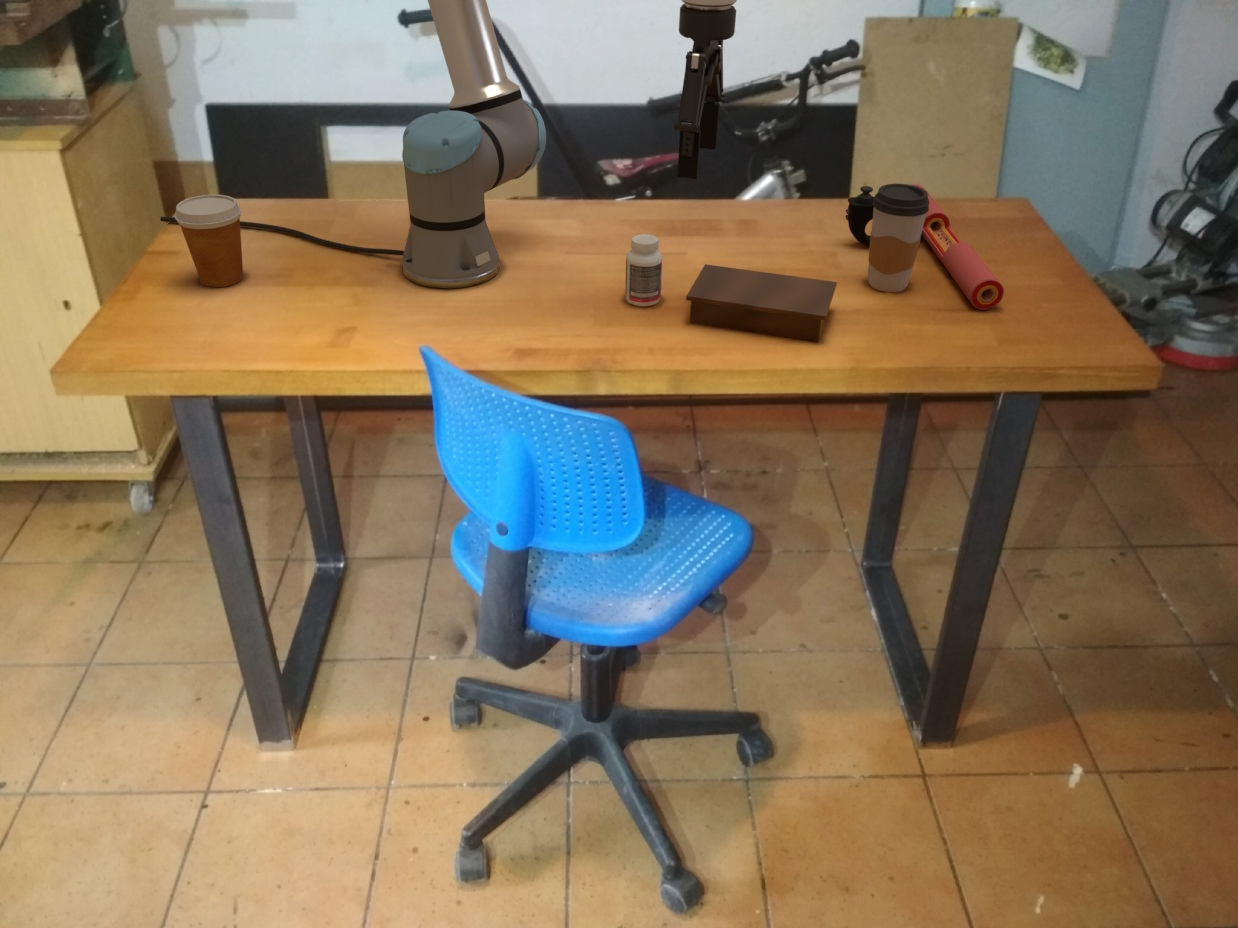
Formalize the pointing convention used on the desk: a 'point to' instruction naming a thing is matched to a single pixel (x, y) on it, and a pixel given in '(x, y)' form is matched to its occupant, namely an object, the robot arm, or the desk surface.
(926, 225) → the blood vessel
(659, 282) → the pill bottle
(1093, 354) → the desk surface
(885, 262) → the coffee cup
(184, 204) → the disposable coffee cup
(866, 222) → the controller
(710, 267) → the stand
